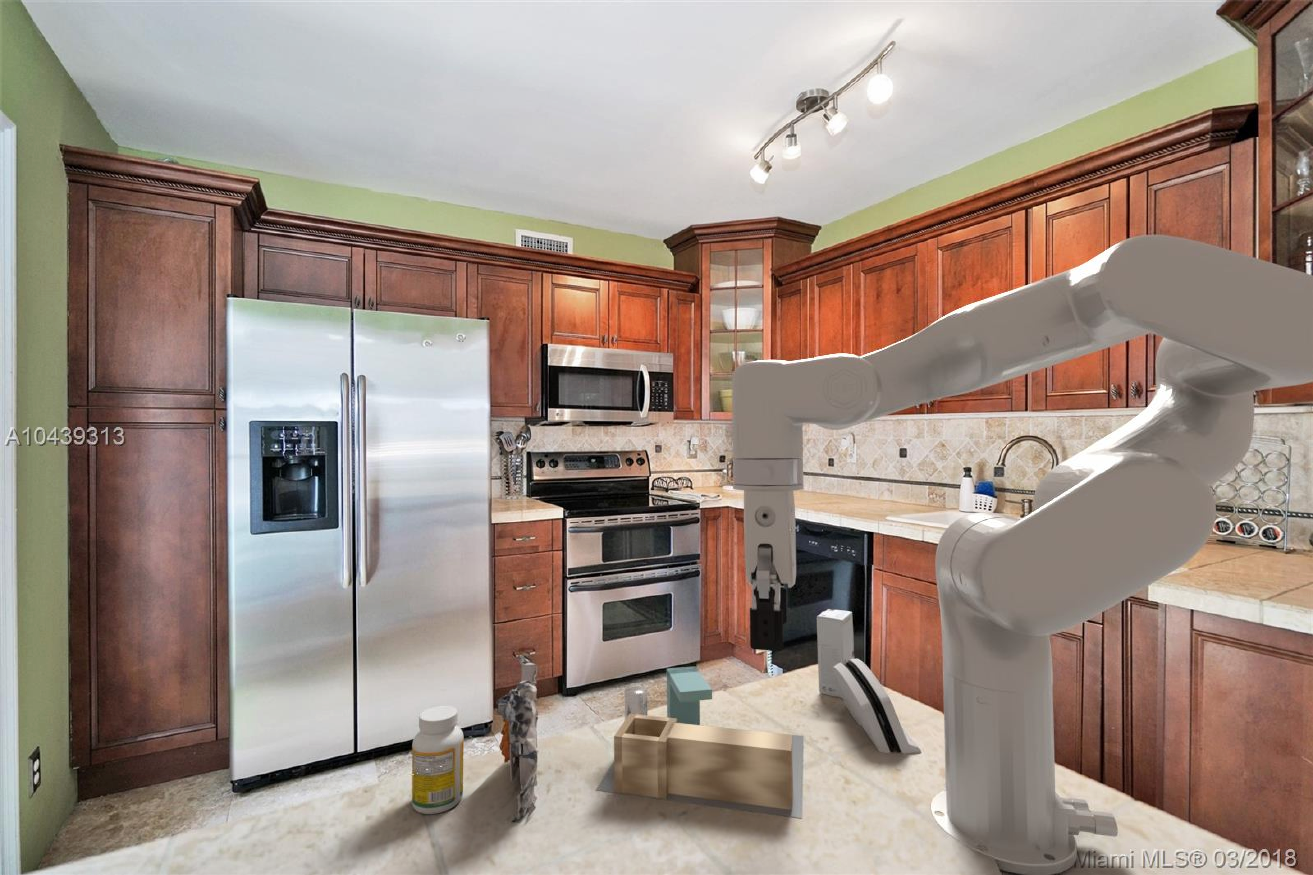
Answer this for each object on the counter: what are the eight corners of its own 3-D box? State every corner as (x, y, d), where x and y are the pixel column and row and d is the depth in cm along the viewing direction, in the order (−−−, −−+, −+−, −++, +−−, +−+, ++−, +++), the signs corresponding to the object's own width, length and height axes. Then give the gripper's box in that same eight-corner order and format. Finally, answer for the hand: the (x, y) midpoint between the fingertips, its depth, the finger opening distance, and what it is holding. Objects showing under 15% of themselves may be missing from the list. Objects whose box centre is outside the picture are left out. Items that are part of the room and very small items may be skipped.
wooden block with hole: (614, 792, 65) (614, 736, 65) (629, 765, 71) (629, 713, 71) (791, 816, 60) (790, 756, 60) (793, 785, 66) (792, 730, 66)
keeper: (680, 759, 72) (680, 692, 72) (667, 729, 80) (666, 668, 80) (712, 755, 73) (712, 689, 73) (696, 726, 81) (695, 666, 81)
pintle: (650, 748, 75) (649, 687, 75) (644, 759, 72) (643, 696, 72) (628, 745, 75) (628, 685, 76) (622, 756, 73) (621, 694, 73)
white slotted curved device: (926, 763, 73) (896, 685, 73) (889, 777, 73) (859, 698, 73) (879, 705, 89) (855, 642, 90) (849, 716, 89) (825, 653, 90)
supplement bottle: (440, 820, 62) (440, 727, 62) (400, 809, 64) (400, 719, 64) (473, 793, 67) (473, 707, 68) (436, 783, 69) (436, 700, 69)
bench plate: (803, 745, 77) (803, 736, 77) (802, 830, 60) (802, 818, 60) (640, 727, 83) (640, 719, 83) (596, 801, 65) (595, 790, 65)
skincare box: (845, 699, 92) (844, 620, 92) (817, 693, 94) (815, 616, 94) (856, 686, 97) (854, 611, 97) (829, 680, 99) (827, 607, 100)
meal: (503, 762, 74) (503, 655, 74) (538, 758, 75) (538, 653, 75) (494, 838, 59) (494, 704, 60) (538, 832, 60) (538, 701, 61)
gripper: (802, 479, 55) (805, 665, 55) (804, 473, 72) (806, 615, 72) (722, 479, 57) (724, 659, 57) (741, 473, 74) (743, 612, 73)
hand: (769, 634), depth 64 cm, fingers open, 9 cm apart
